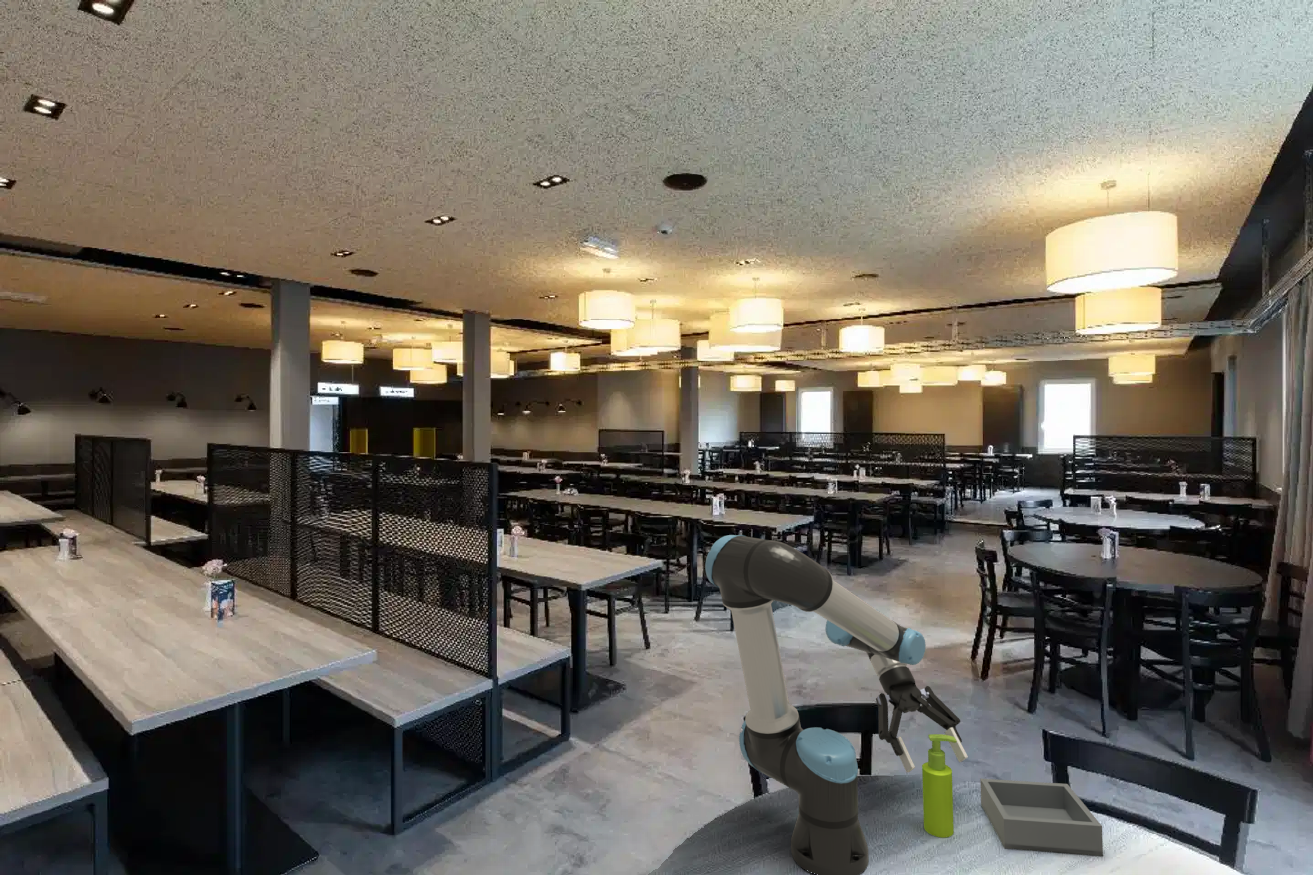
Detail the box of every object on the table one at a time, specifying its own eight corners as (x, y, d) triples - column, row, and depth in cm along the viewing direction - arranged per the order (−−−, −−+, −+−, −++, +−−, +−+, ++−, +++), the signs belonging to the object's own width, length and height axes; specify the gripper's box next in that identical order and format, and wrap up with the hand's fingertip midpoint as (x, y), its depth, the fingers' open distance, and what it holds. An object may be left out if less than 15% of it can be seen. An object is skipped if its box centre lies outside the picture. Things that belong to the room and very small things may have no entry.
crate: (1004, 848, 134) (1003, 818, 134) (981, 804, 150) (980, 778, 150) (1102, 856, 131) (1102, 825, 131) (1068, 810, 146) (1067, 783, 146)
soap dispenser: (962, 839, 137) (959, 743, 137) (926, 836, 139) (924, 741, 139) (955, 823, 143) (952, 730, 143) (921, 820, 144) (918, 728, 144)
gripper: (929, 672, 164) (976, 761, 150) (841, 686, 157) (880, 780, 143) (944, 658, 159) (993, 748, 144) (853, 671, 152) (895, 768, 137)
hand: (937, 764), depth 143 cm, fingers open, 13 cm apart
